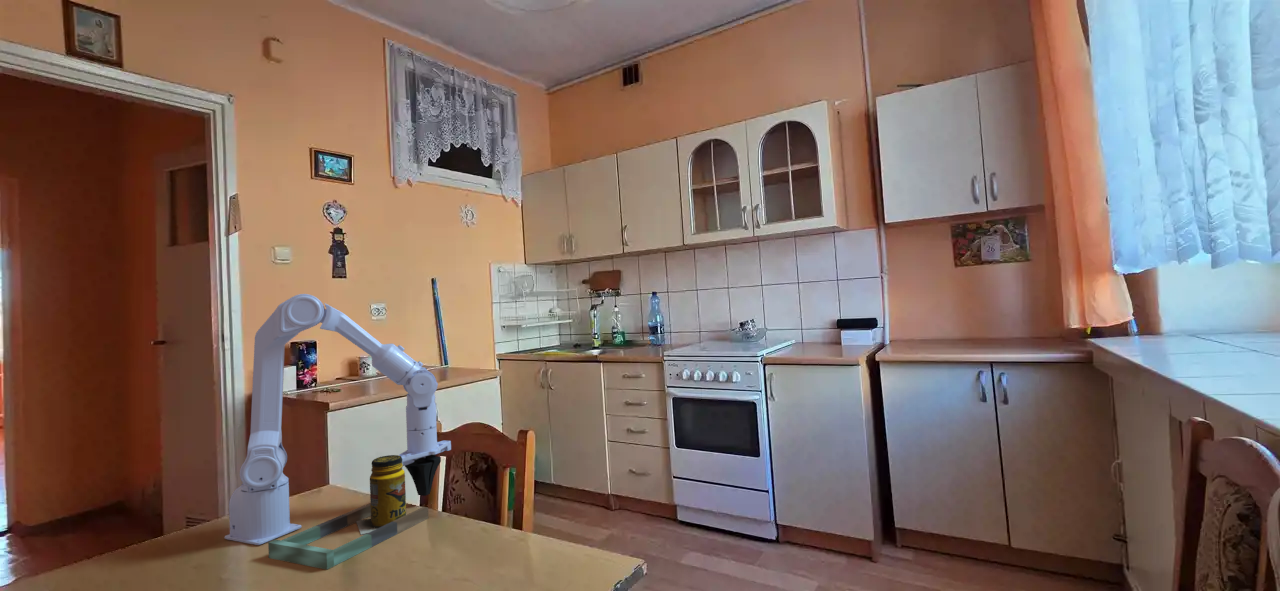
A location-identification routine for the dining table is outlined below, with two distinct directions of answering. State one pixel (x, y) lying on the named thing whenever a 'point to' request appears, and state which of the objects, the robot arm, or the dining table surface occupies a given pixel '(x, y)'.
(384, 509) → the condiment
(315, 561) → the u-shaped frame
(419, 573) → the dining table surface
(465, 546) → the dining table surface
